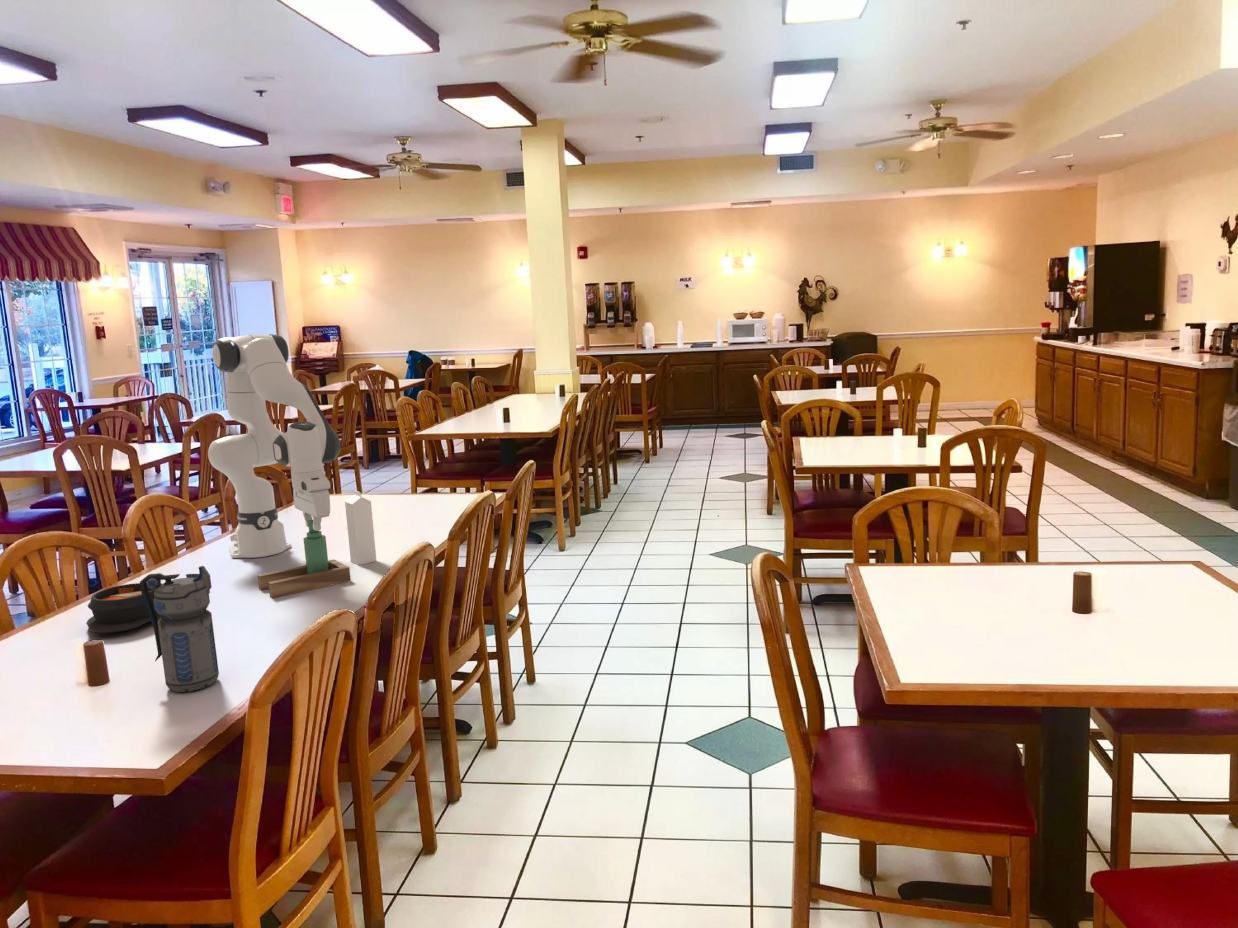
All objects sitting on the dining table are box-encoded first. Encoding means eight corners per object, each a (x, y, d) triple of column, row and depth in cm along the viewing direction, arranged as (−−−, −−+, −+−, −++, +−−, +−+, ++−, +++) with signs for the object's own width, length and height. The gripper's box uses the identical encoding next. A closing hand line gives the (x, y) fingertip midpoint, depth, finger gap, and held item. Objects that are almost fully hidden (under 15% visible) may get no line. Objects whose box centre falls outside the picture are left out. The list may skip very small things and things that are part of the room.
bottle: (305, 581, 267) (298, 520, 264) (325, 577, 271) (319, 516, 267) (312, 586, 262) (305, 523, 259) (333, 581, 266) (326, 520, 263)
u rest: (259, 588, 262) (257, 574, 262) (335, 572, 275) (334, 559, 275) (272, 598, 253) (270, 583, 252) (350, 580, 266) (349, 567, 265)
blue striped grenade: (162, 679, 198) (147, 565, 194) (228, 672, 200) (214, 559, 196) (147, 698, 188) (130, 579, 184) (216, 691, 191) (201, 572, 186)
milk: (358, 565, 282) (350, 494, 278) (350, 561, 287) (343, 491, 283) (377, 561, 286) (370, 490, 282) (369, 557, 291) (362, 488, 287)
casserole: (109, 610, 249) (104, 580, 247) (182, 604, 251) (178, 574, 250) (69, 643, 224) (64, 610, 223) (151, 635, 227) (146, 602, 225)
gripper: (285, 477, 268) (290, 524, 270) (309, 486, 252) (314, 536, 254) (307, 474, 272) (312, 520, 274) (332, 483, 255) (337, 532, 258)
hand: (313, 528), depth 264 cm, fingers open, 4 cm apart
